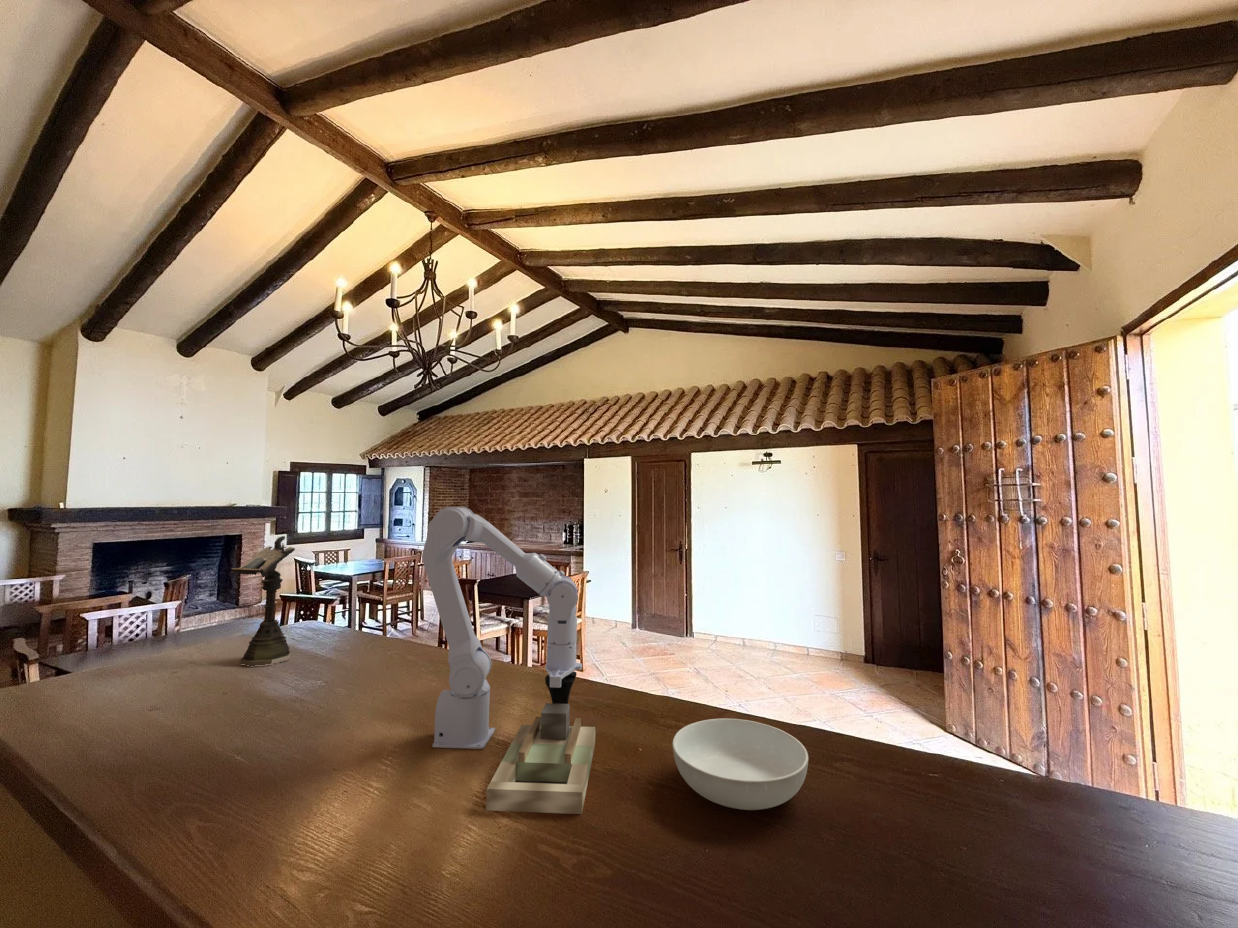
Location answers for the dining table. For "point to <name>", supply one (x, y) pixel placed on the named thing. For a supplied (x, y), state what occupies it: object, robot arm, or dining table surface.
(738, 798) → the serving bowl
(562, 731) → the charcoal block
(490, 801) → the railed deck
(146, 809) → the dining table surface
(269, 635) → the lectern
